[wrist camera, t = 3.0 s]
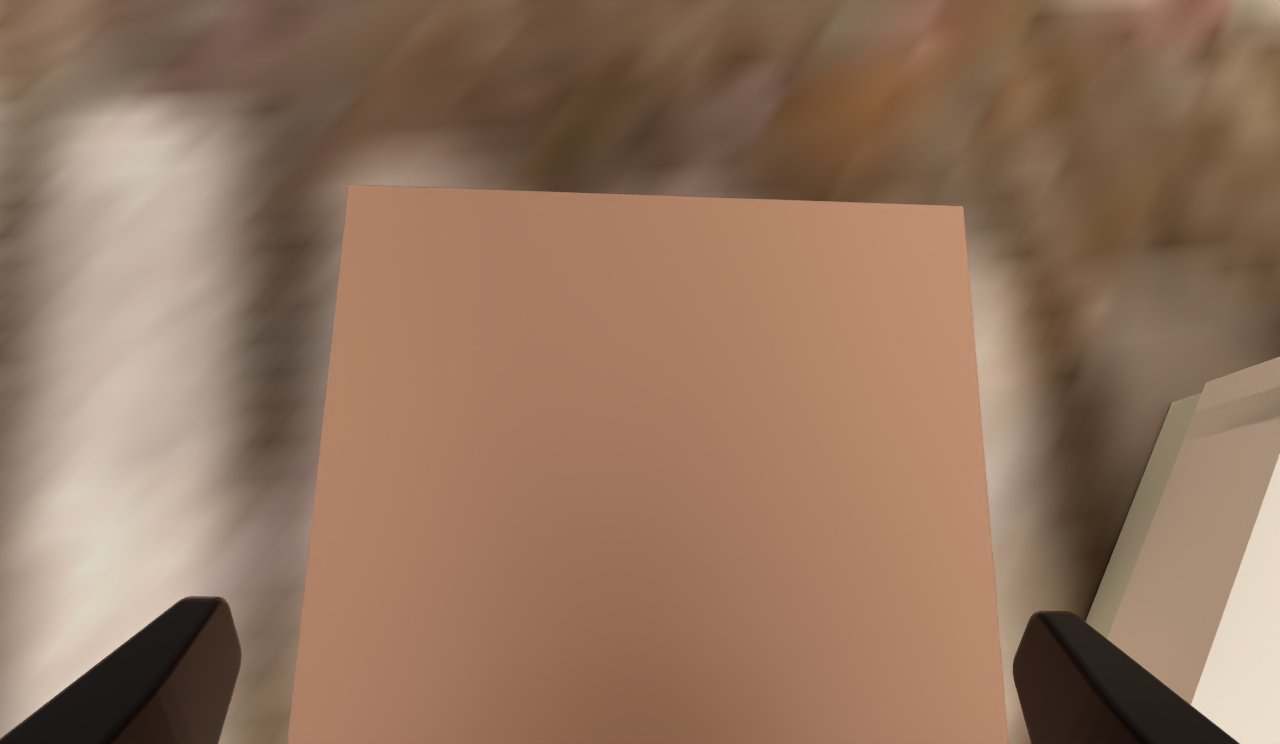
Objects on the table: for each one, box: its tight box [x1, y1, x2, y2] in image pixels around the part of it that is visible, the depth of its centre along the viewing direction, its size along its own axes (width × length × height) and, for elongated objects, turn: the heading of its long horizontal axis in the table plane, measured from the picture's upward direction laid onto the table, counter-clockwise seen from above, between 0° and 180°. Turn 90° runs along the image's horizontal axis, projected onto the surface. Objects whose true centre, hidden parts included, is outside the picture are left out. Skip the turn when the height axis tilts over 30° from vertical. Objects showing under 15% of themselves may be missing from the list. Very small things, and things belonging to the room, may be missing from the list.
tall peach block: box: [287, 185, 1008, 744], centre depth 12 cm, size 6×5×12 cm
